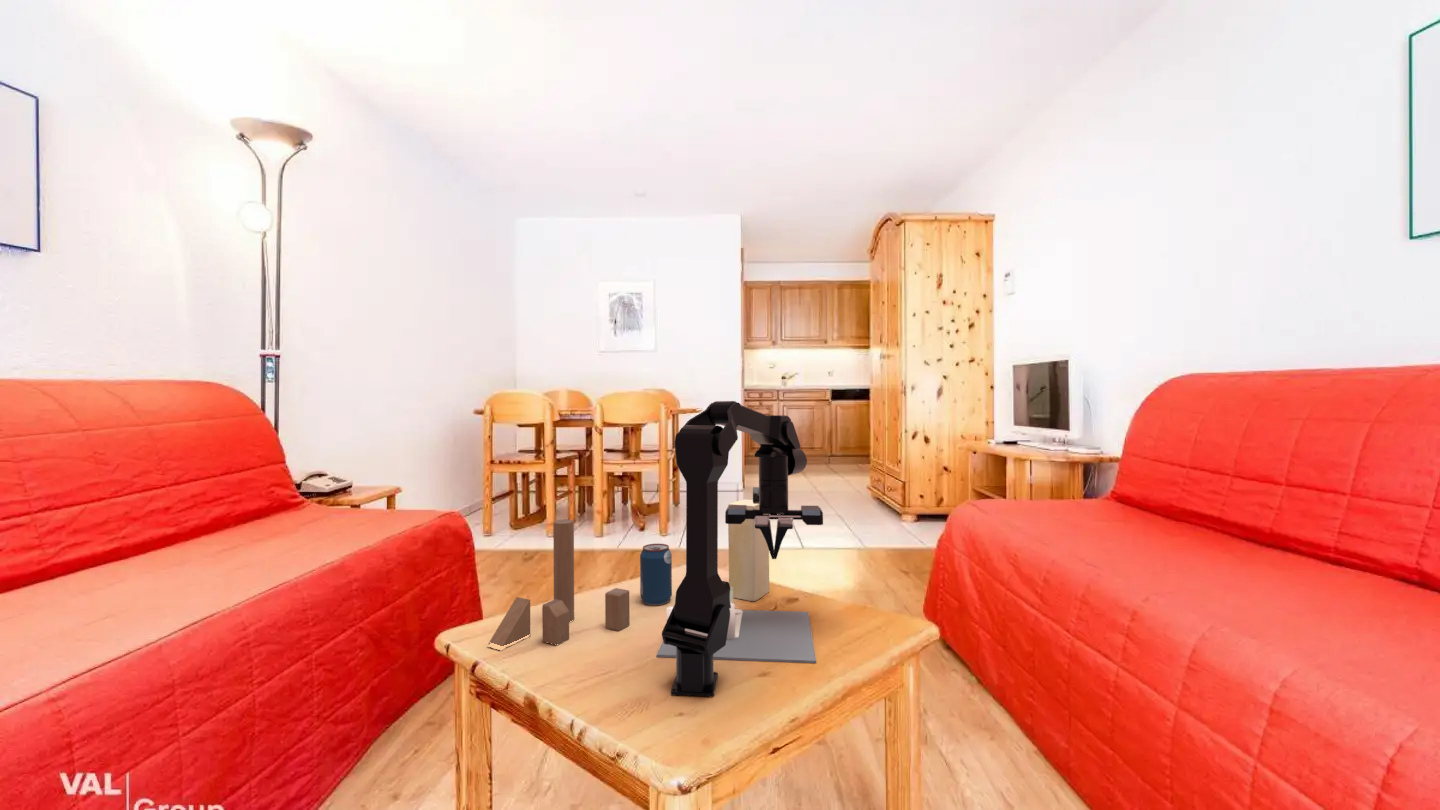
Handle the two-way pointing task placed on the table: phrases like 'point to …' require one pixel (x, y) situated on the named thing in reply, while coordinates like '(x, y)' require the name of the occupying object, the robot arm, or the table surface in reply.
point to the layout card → (761, 637)
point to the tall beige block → (748, 558)
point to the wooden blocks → (560, 599)
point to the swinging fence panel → (731, 594)
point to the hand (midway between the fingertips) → (774, 558)
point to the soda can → (655, 574)
